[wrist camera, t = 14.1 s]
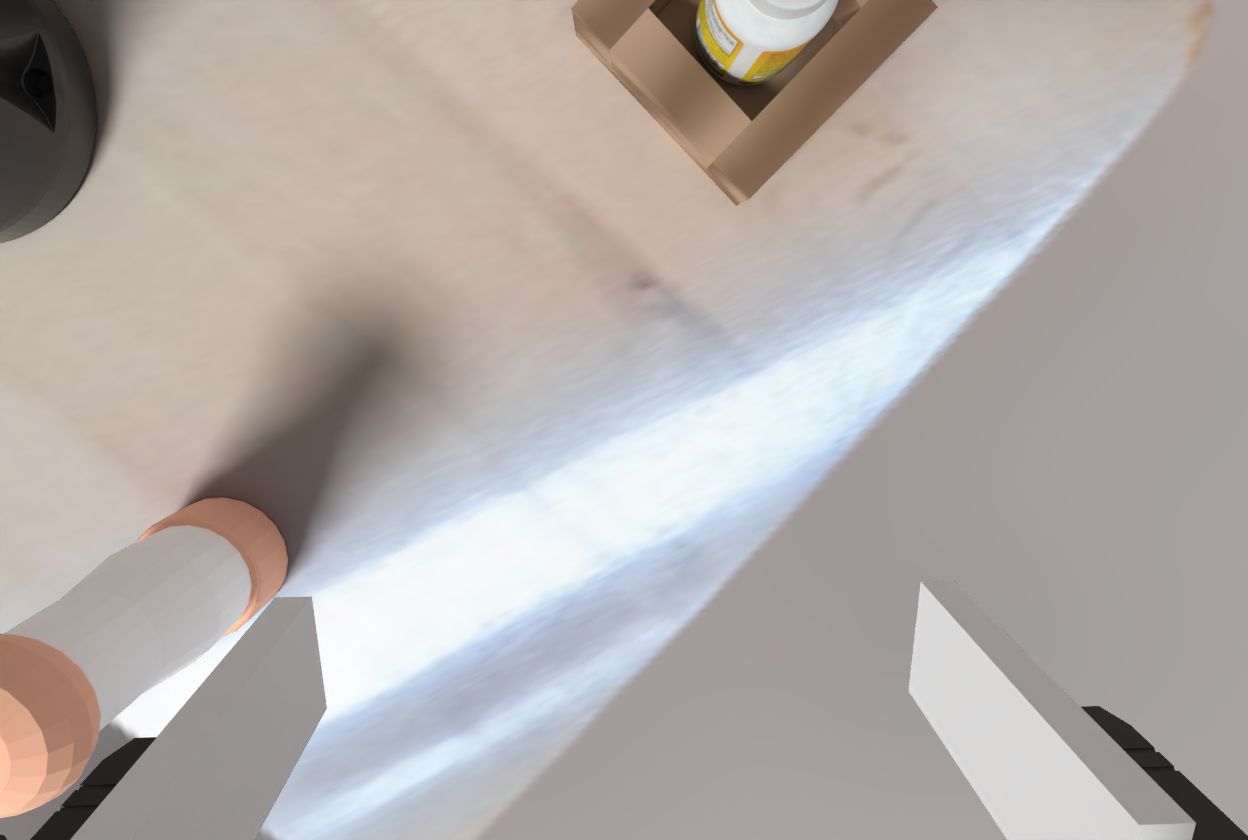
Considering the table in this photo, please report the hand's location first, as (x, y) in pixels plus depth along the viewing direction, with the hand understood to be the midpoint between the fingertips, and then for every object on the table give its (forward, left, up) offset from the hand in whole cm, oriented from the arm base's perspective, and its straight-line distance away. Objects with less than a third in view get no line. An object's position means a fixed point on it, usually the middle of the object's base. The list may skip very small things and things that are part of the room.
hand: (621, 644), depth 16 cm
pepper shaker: (-10, -22, -27) cm, 36 cm away
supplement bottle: (-9, +19, -26) cm, 33 cm away
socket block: (-9, +19, -26) cm, 34 cm away
